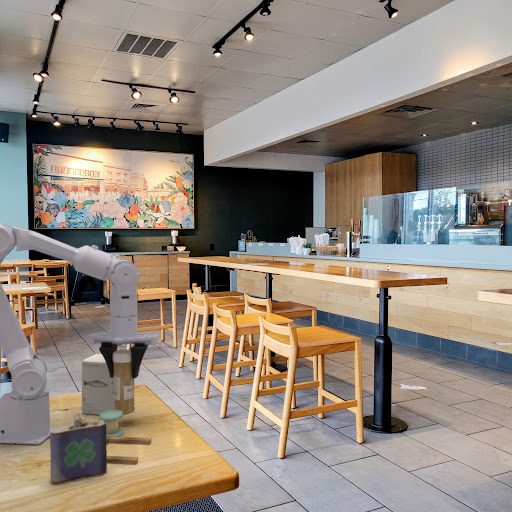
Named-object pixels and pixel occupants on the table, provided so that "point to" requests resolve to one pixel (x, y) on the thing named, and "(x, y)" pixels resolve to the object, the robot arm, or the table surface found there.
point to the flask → (78, 451)
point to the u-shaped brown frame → (126, 441)
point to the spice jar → (123, 381)
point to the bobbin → (112, 422)
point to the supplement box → (96, 386)
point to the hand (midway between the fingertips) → (124, 376)
